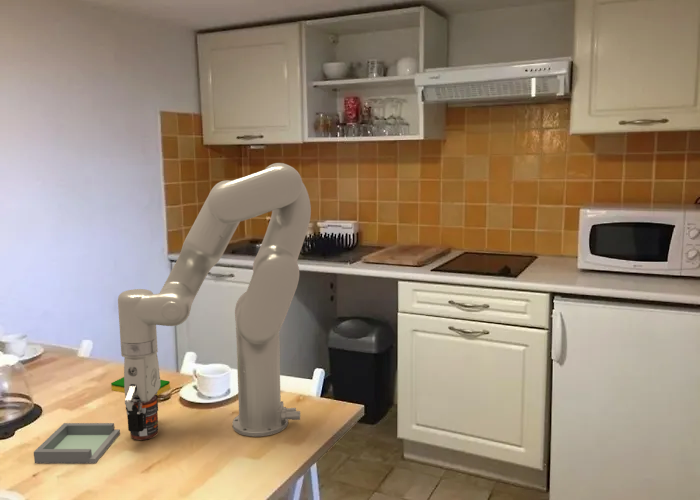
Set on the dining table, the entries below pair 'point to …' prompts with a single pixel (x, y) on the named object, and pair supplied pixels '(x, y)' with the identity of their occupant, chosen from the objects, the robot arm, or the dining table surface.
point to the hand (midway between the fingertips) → (143, 420)
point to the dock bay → (77, 443)
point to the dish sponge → (119, 387)
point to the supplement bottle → (148, 420)
